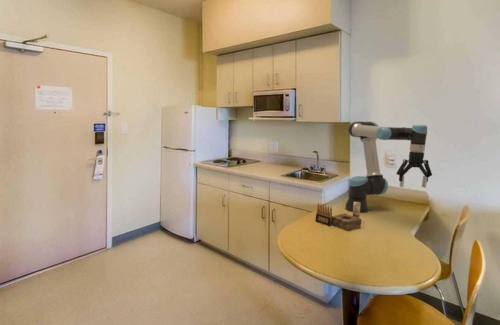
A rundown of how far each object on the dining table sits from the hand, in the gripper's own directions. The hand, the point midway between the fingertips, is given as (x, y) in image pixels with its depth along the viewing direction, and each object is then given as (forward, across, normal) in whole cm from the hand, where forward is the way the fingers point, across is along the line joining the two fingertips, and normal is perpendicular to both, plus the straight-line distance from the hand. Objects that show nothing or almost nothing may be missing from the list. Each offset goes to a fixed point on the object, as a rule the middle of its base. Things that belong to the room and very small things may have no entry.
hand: (412, 187), depth 169 cm
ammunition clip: (+24, -52, +1) cm, 57 cm away
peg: (+24, -30, +6) cm, 39 cm away
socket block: (+24, -39, -2) cm, 46 cm away
